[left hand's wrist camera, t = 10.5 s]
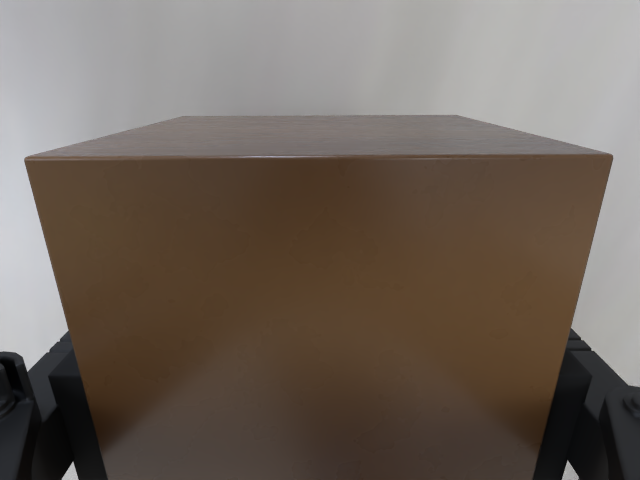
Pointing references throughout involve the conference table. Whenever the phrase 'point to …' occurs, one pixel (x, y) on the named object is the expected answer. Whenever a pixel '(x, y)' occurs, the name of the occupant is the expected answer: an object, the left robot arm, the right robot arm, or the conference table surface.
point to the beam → (319, 292)
